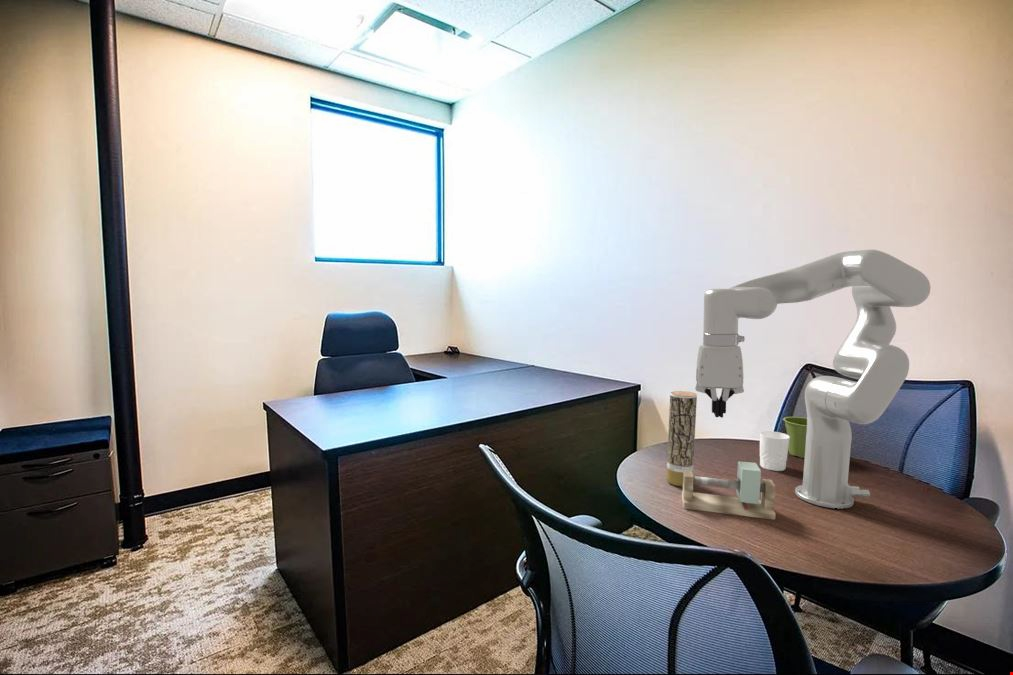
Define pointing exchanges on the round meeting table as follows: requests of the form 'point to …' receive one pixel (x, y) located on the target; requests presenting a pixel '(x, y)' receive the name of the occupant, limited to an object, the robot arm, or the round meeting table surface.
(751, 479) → the collar
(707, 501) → the rod stand
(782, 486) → the round meeting table surface
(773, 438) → the white cup
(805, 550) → the round meeting table surface
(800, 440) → the plant pot
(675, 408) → the paper tube
